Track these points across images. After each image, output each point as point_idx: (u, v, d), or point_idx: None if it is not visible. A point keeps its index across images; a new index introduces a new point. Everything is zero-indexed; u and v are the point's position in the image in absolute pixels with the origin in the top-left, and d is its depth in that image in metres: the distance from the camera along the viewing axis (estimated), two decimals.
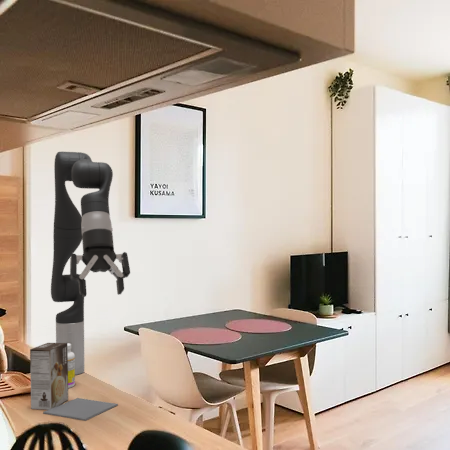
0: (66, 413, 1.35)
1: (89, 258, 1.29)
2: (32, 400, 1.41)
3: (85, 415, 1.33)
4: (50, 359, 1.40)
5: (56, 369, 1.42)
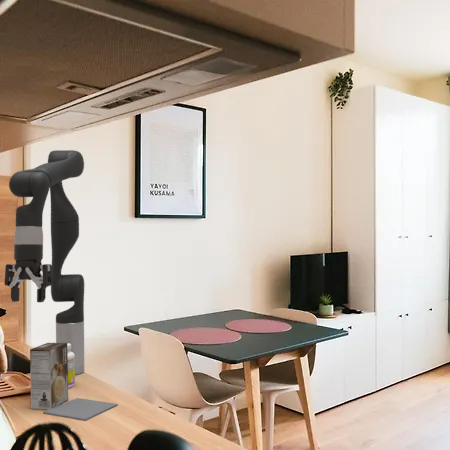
0: (66, 413, 1.35)
1: (18, 269, 1.46)
2: (32, 400, 1.41)
3: (85, 415, 1.33)
4: (50, 359, 1.40)
5: (56, 369, 1.42)
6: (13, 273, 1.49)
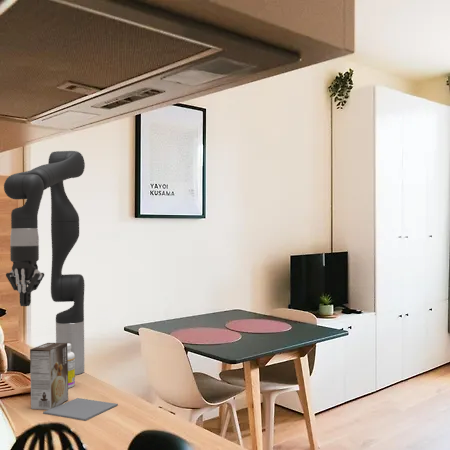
0: (66, 413, 1.35)
1: (15, 268, 1.49)
2: (32, 400, 1.41)
3: (85, 415, 1.33)
4: (50, 359, 1.40)
5: (56, 369, 1.42)
6: None
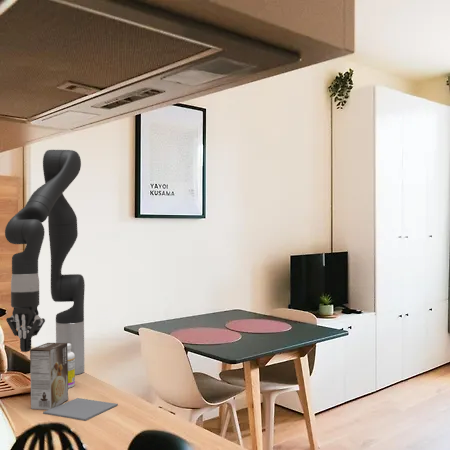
0: (66, 413, 1.35)
1: (16, 313, 1.49)
2: (32, 400, 1.41)
3: (85, 415, 1.33)
4: (50, 359, 1.40)
5: (56, 369, 1.42)
6: None
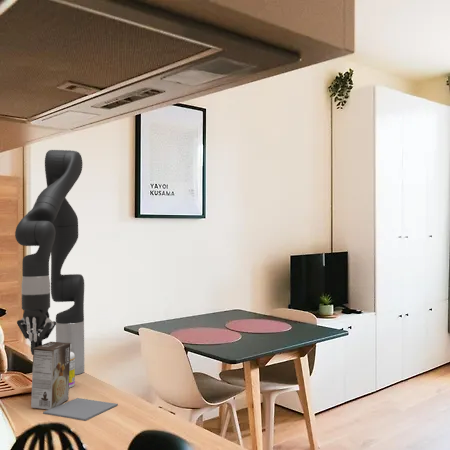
0: (66, 413, 1.35)
1: (26, 316, 1.47)
2: (33, 399, 1.41)
3: (85, 415, 1.33)
4: (53, 359, 1.40)
5: (59, 369, 1.42)
6: None
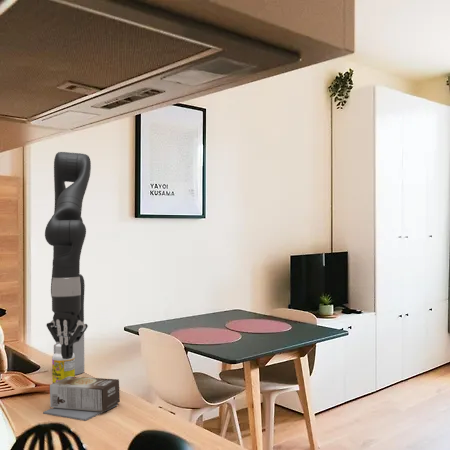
0: (66, 413, 1.35)
1: (57, 318, 1.42)
2: (57, 387, 1.39)
3: (85, 415, 1.33)
4: (95, 410, 1.36)
5: None
6: None
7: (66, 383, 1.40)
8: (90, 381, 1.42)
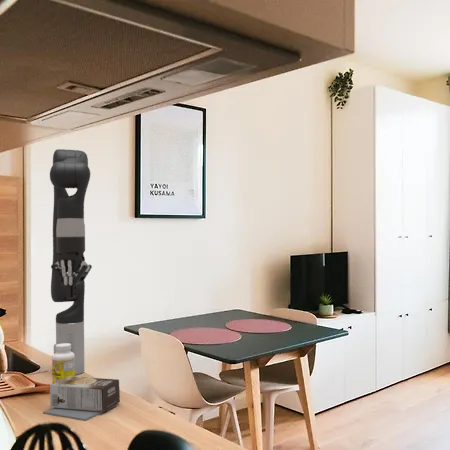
0: (66, 413, 1.35)
1: (61, 260, 1.44)
2: (57, 387, 1.39)
3: (85, 415, 1.33)
4: (95, 410, 1.36)
5: None
6: (62, 270, 1.46)
7: (66, 383, 1.40)
8: (90, 381, 1.42)
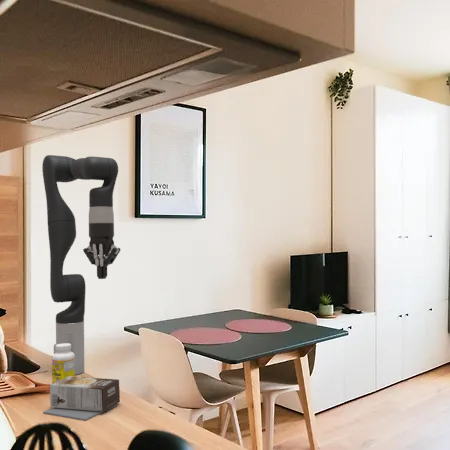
0: (66, 413, 1.35)
1: (93, 244, 1.61)
2: (57, 387, 1.39)
3: (85, 415, 1.33)
4: (95, 410, 1.36)
5: None
6: (93, 254, 1.64)
7: (66, 383, 1.40)
8: (90, 381, 1.42)
